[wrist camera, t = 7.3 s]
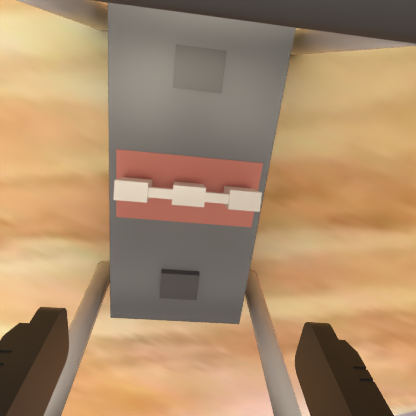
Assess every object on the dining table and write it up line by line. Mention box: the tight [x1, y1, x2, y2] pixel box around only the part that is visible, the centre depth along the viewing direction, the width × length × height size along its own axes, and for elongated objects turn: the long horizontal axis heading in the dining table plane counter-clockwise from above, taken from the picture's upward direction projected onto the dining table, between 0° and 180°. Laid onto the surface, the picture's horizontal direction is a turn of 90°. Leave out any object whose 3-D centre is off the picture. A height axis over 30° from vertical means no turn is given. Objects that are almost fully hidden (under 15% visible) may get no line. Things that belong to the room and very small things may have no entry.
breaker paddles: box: [113, 177, 262, 212], centre depth 22 cm, size 9×1×3 cm, turn 84°
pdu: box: [17, 0, 416, 416], centre depth 21 cm, size 16×24×16 cm, turn 174°
